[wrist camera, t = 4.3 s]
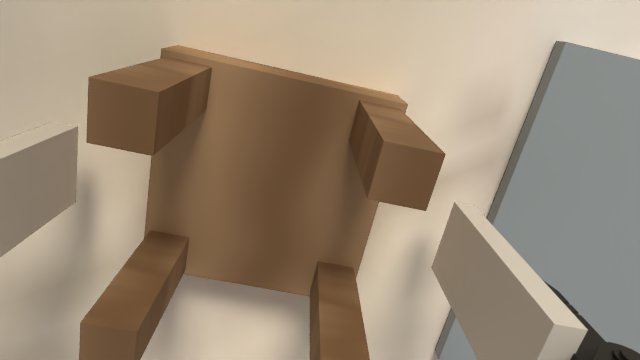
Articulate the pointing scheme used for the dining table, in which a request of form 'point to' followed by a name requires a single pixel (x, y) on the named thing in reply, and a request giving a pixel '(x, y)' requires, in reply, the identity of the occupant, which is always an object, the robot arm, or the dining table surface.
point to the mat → (576, 193)
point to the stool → (252, 189)
